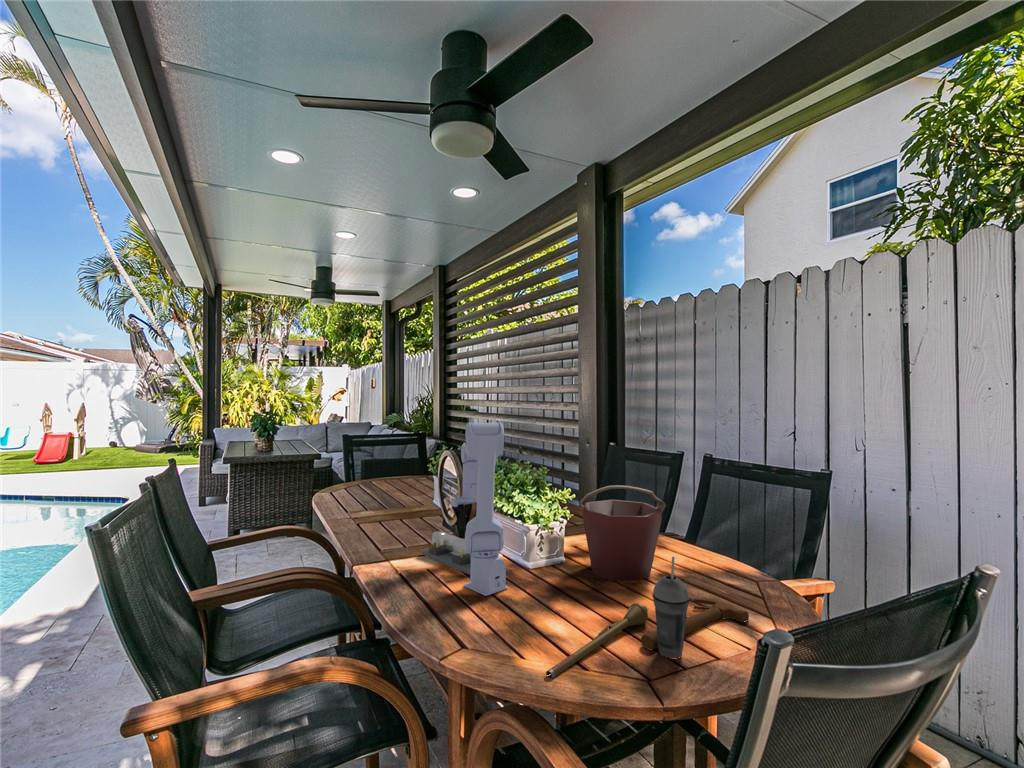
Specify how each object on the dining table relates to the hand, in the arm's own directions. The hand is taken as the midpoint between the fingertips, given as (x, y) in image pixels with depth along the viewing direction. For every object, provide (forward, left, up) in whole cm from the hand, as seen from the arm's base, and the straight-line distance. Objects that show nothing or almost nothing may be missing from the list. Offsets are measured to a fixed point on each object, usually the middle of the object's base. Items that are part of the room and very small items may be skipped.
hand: (471, 526), depth 167 cm
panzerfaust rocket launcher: (-62, +15, -10) cm, 65 cm away
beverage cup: (-74, +8, -10) cm, 75 cm away
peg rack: (+1, +5, -10) cm, 11 cm away
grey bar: (+1, +5, -7) cm, 8 cm away
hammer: (-70, -5, -11) cm, 71 cm away
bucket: (-39, -24, -10) cm, 47 cm away
